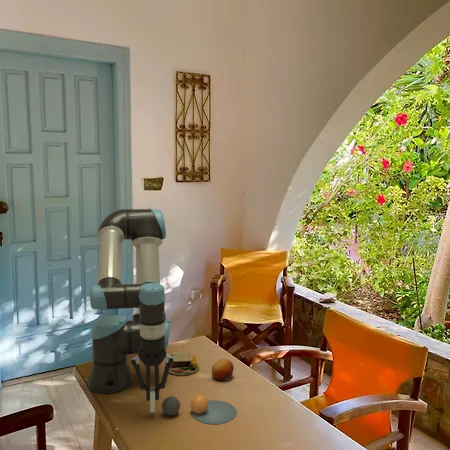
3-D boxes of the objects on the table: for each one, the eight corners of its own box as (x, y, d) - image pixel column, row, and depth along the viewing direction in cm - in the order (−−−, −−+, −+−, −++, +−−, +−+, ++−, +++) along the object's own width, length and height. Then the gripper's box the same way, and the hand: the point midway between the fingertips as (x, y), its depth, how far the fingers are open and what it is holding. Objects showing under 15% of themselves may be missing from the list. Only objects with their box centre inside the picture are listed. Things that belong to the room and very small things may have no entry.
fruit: (236, 380, 164) (225, 360, 164) (217, 389, 166) (206, 369, 166) (240, 370, 172) (229, 351, 172) (222, 379, 174) (211, 360, 174)
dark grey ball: (176, 391, 144) (186, 405, 144) (166, 394, 147) (176, 408, 148) (165, 403, 140) (175, 418, 140) (155, 405, 143) (165, 420, 143)
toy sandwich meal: (164, 377, 170) (164, 364, 169) (167, 361, 183) (167, 350, 183) (198, 377, 170) (198, 364, 170) (199, 361, 184) (199, 350, 183)
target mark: (182, 415, 143) (182, 414, 143) (208, 396, 155) (208, 396, 155) (220, 429, 136) (220, 428, 136) (244, 408, 148) (244, 408, 148)
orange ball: (186, 397, 144) (202, 390, 144) (189, 401, 148) (205, 394, 149) (192, 414, 141) (209, 407, 141) (195, 418, 145) (211, 410, 146)
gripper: (129, 341, 135) (130, 417, 138) (174, 339, 137) (174, 415, 140) (131, 332, 143) (131, 404, 146) (173, 330, 144) (173, 402, 147)
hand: (152, 409), depth 143 cm, fingers closed
